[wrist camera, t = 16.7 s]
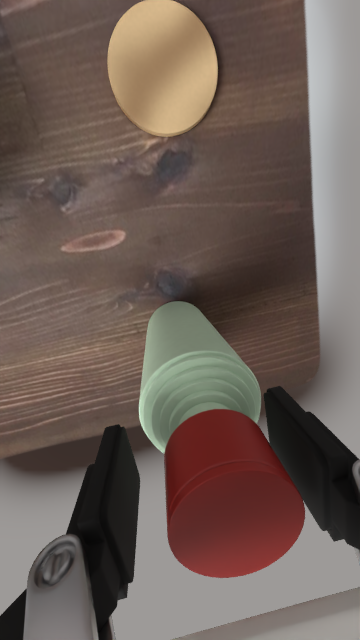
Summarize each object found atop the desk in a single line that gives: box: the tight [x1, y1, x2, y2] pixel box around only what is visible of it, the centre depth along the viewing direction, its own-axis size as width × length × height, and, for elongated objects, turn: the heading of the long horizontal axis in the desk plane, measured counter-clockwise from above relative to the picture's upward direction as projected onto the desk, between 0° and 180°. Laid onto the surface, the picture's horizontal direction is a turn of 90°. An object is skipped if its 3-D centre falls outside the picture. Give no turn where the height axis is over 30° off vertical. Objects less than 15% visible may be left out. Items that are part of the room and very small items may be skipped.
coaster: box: [108, 0, 218, 137], centre depth 20 cm, size 9×9×1 cm
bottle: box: [139, 301, 261, 453], centre depth 17 cm, size 6×6×19 cm
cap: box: [164, 409, 305, 578], centre depth 8 cm, size 4×4×3 cm
